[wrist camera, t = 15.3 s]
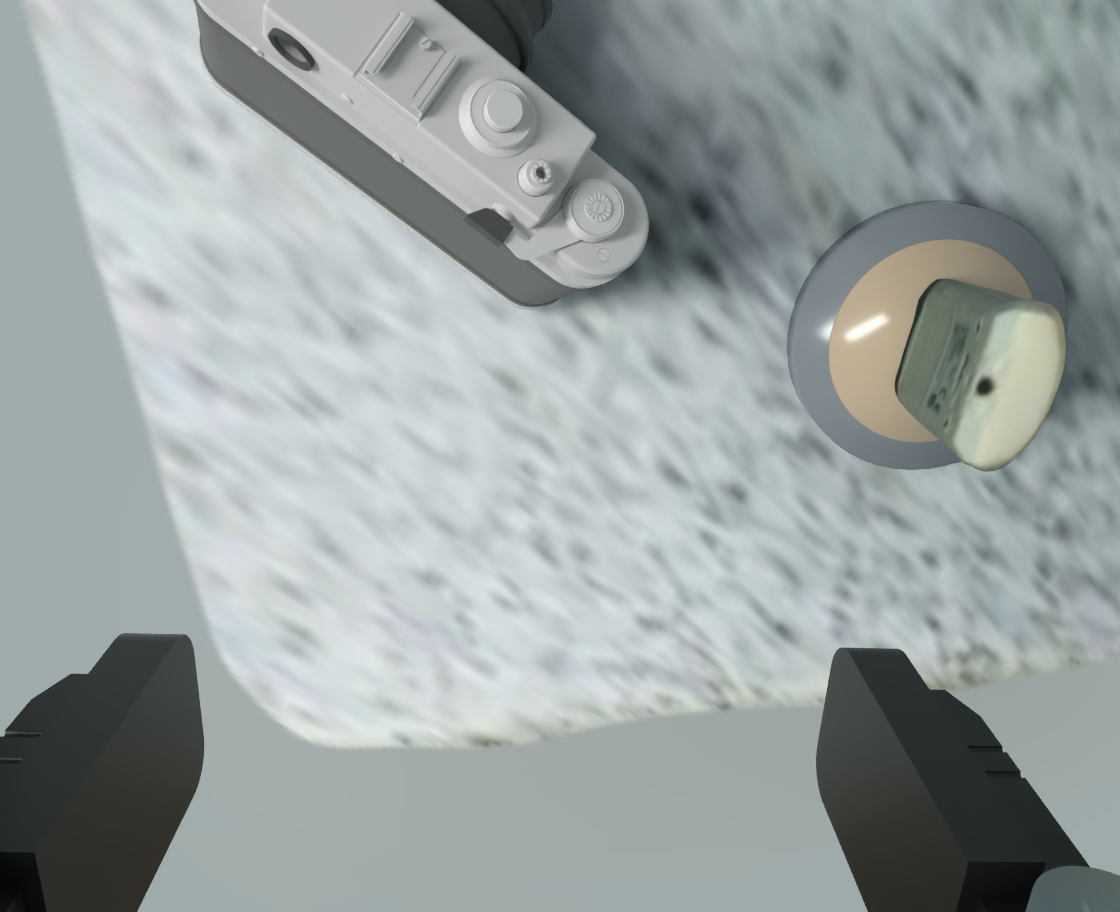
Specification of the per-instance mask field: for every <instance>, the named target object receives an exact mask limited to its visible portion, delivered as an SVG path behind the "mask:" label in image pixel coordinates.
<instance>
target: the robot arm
mask: <svg viewBox="0 0 1120 912" xmlns="http://www.w3.org/2000/svg"><path fill="white" fill-rule="evenodd" d="M203 757H204V735H203V726H202V717H201V709H200V700H199V691H198V683H197V673H196V665H195V656H194V649H193V645H192V642H191V640H190V638H189V637H188V636H187V635H181V634H135V633H132V634H131V633H124V634H121V635H119V636H118V637H117V638H116V639H115V640H114V641H113V643H112V644H111V645H110V647H109V648H108V649H107V650H106V652H105V653H104V654H103V656H102V657H101V658H100V659H99V661H98V662H97V663H96V665H95V666H94V667H93V668H92V670H91V671H90V672H89V674H70V675H68V676H67V677H65V678H64V679H62V680H61V681H59V682H58V683H56V684H55V685H53V686H52V687H50V688H48V689H47V690H45V691H44V692H42V693H41V694H39V695H38V696H36V697H34V698H33V699H31V701H30V702H29V703H28V704H27V705H26V707H25V708H24V709H23V710H22V711H21V712H20V714H19V715H18V716H17V717H16V718H15V719H14V721H13V722H12V723H11V724H10V725H9V727H8V728H7V729H6V730H5V736H4V737H0V912H137V911H138V909H139V907H140V905H141V903H142V901H143V898H144V896H145V894H146V892H147V890H148V888H149V886H150V884H151V882H152V880H153V878H154V876H155V874H156V872H157V870H158V868H159V866H160V864H161V862H162V860H163V858H164V856H165V854H166V852H167V849H168V847H169V845H170V843H171V841H172V839H173V837H174V835H175V833H176V831H177V829H178V827H179V825H180V823H181V821H182V819H183V817H184V815H185V813H186V811H187V809H188V807H189V804H190V802H191V800H192V798H193V796H194V794H195V792H196V789H197V786H198V784H199V780H200V776H201V771H202V765H203ZM816 768H817V780H818V786H819V791H820V795H821V798H822V801H823V803H824V806H825V809H826V811H827V814H828V816H829V818H830V821H831V823H832V826H833V828H834V830H835V833H836V835H837V838H838V840H839V843H840V845H841V847H842V850H843V852H844V855H845V857H846V860H847V862H848V864H849V867H850V869H851V872H852V874H853V877H854V879H855V881H856V884H857V886H858V889H859V891H860V893H861V896H862V898H863V901H864V903H865V906H866V907H867V910H868V912H1120V876H1119V875H1116V874H1113V873H1111V872H1107V871H1103V870H1100V869H1096V868H1090V866H1089V865H1088V864H1087V862H1086V861H1085V859H1084V858H1083V857H1082V855H1081V854H1080V853H1079V851H1078V850H1077V849H1076V847H1075V846H1074V844H1073V843H1072V842H1071V840H1070V839H1069V837H1068V836H1067V835H1066V833H1065V832H1064V831H1063V830H1062V828H1061V827H1060V825H1059V824H1058V822H1057V821H1056V820H1055V818H1054V817H1053V816H1052V814H1051V813H1050V811H1049V810H1048V809H1047V807H1046V806H1045V805H1044V803H1043V802H1042V800H1041V799H1040V798H1039V796H1038V795H1037V793H1036V792H1035V791H1034V789H1033V788H1032V787H1031V786H1030V784H1029V783H1028V781H1027V780H1026V779H1025V778H1021V775H1020V770H1019V769H1018V768H1017V766H1016V765H1015V763H1014V762H1013V761H1012V759H1011V758H1010V757H1009V755H1008V754H1007V753H1006V752H1004V753H1003V751H1002V746H1001V744H1000V743H999V741H998V740H997V739H996V737H995V736H994V734H993V733H992V732H991V730H990V729H989V728H988V726H987V725H986V723H985V722H984V721H983V719H982V718H981V717H980V716H979V715H978V714H977V713H975V712H974V711H973V710H971V709H970V708H969V707H967V706H966V705H964V704H963V703H962V702H960V701H959V700H958V699H956V698H955V697H954V696H952V695H951V694H950V693H948V692H947V691H946V690H929V688H928V687H927V685H926V684H925V682H924V681H923V679H922V678H921V676H920V675H919V673H918V672H917V670H916V669H915V668H914V666H913V665H912V663H911V662H910V660H909V659H908V657H907V656H906V654H905V653H904V652H903V651H902V650H900V649H879V648H839V649H838V650H837V651H836V653H835V655H834V657H833V660H832V665H831V670H830V676H829V681H828V687H827V693H826V699H825V705H824V710H823V717H822V722H821V728H820V734H819V740H818V745H817V755H816Z"/></svg>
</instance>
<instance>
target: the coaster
mask: <svg viewBox="0 0 1120 912" xmlns="http://www.w3.org/2000/svg"><path fill="white" fill-rule="evenodd" d="M937 279H953V280H957V281H960V282H964V283H969V284H973V285H977V286H981V287H985V288H990V289H995V290H998V291H1001V292H1005V293H1008V294H1011V295H1014V296H1016V297H1019V298H1021V299H1024V300H1034V301H1040V302H1044V303H1048V304H1050V305H1051V306H1053V307H1054V308H1055V309H1056V310H1057V311H1058V313H1059V314H1060V316H1061V319H1062V322H1063V325H1064V332H1065V338H1066V332H1067V304H1066V296H1065V291H1064V288H1063V284H1062V280H1061V277H1060V275H1059V272H1058V270H1057V268H1056V266H1055V263H1054V262H1053V260H1052V258H1051V257H1050V255H1049V254H1048V252H1047V251H1046V249H1045V248H1044V247H1043V245H1042V244H1041V243H1040V242H1039V241H1038V240H1037V239H1036V238H1035V237H1034V236H1033V235H1032V234H1031V233H1030V232H1029V231H1027V230H1026V229H1025V228H1024V227H1022V226H1021V225H1020V224H1018V223H1016V222H1015V221H1013V220H1011V219H1009V218H1008V217H1006V216H1003V215H1001V214H998V213H996V212H993V211H991V210H987V209H983V208H979V207H974V206H970V205H966V204H962V203H957V202H948V201H924V202H916V203H911V204H905V205H901V206H898V207H895V208H892V209H889V210H886V211H883V212H881V213H879V214H877V215H875V216H873V217H870V218H868V219H867V220H865V221H863V222H862V223H860V224H859V225H857V226H855V227H854V228H852V229H851V230H850V231H848V232H847V233H846V234H845V235H843V236H842V237H841V238H840V239H838V240H837V241H836V242H835V243H834V244H833V245H832V246H831V247H830V248H829V249H828V250H827V251H826V252H825V253H824V254H823V256H822V257H821V258H820V260H819V261H818V262H817V263H816V265H815V266H814V267H813V269H812V270H811V272H810V274H809V275H808V277H807V279H806V280H805V282H804V284H803V286H802V288H801V290H800V292H799V295H798V297H797V299H796V302H795V305H794V308H793V312H792V315H791V319H790V324H789V330H788V343H787V354H788V365H789V370H790V374H791V379H792V383H793V385H794V388H795V390H796V393H797V395H798V398H799V399H800V401H801V403H802V404H803V406H804V408H805V410H806V411H807V412H808V414H809V415H810V416H811V417H812V419H813V420H814V421H815V422H816V424H817V425H818V426H819V427H820V428H821V429H822V430H823V431H824V433H825V434H826V435H827V436H828V437H829V438H831V439H832V440H833V441H834V442H835V443H836V444H837V445H838V446H840V447H841V448H843V449H844V450H846V451H847V452H848V453H850V454H852V455H854V456H856V457H858V458H860V459H862V460H864V461H867V462H870V463H873V464H876V465H879V466H884V467H889V468H894V469H907V470H915V469H930V468H935V467H941V466H946V465H949V464H952V463H956V462H959V461H961V460H960V459H959V458H958V457H957V456H956V455H955V453H954V452H953V451H952V450H950V449H949V448H948V447H947V446H946V445H945V444H944V443H943V442H942V441H941V440H939V439H938V438H937V437H935V436H934V435H933V434H932V433H931V432H929V431H928V430H927V429H926V428H925V427H924V426H923V425H922V424H920V423H919V422H918V421H917V420H916V419H915V418H914V417H913V416H912V415H911V414H910V413H909V412H908V411H907V410H906V409H905V407H904V406H903V405H902V404H901V403H900V402H899V400H898V397H897V396H896V392H895V379H896V375H897V372H898V369H899V366H900V362H901V359H902V355H903V352H904V349H905V346H906V342H907V339H908V336H909V333H910V330H911V327H912V324H913V320H914V316H915V312H916V307H917V304H918V299H919V298H920V296H921V295H922V294H923V292H924V291H925V289H926V288H927V287H928V286H929V285H930V284H931V283H932V282H934V281H935V280H937Z"/></svg>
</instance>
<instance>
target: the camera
mask: <svg viewBox="0 0 1120 912" xmlns="http://www.w3.org/2000/svg"><path fill="white" fill-rule="evenodd" d="M194 2H195V5H196V10H197V16H198V23H199V29H200V54H201V59H202V63H203V66H204V69H205V71H206V73H207V75H208V77H209V78H210V80H211V81H212V83H213V84H214V85H215V86H216V87H217V88H218V89H219V90H220V91H221V92H222V93H224V94H225V95H226V96H228V97H229V98H230V99H232V100H233V101H234V102H236V103H237V104H238V105H240V106H241V107H242V108H244V109H245V110H247V111H248V112H249V113H251V114H252V115H253V116H255V117H256V118H257V119H259V120H260V121H261V122H263V123H264V124H265V125H267V126H268V127H270V128H271V129H272V130H274V131H275V132H276V133H278V134H279V135H280V136H282V137H283V138H284V139H286V140H287V141H288V142H290V143H291V144H292V145H294V146H295V147H297V148H298V149H299V150H301V151H302V152H303V153H305V154H306V155H307V156H309V157H310V158H311V159H313V160H314V161H315V162H317V163H318V164H319V165H321V166H322V167H324V168H325V169H326V170H328V171H329V172H330V173H332V174H333V175H334V176H336V177H337V178H338V179H340V180H341V181H342V182H344V183H345V184H347V185H348V186H349V187H351V188H352V189H353V190H355V191H356V192H357V193H359V194H360V195H361V196H363V197H364V198H365V199H367V200H368V201H369V202H371V203H372V204H374V205H375V206H376V207H378V208H379V209H380V210H382V211H383V212H384V213H386V214H387V215H388V216H390V217H391V218H392V219H394V220H395V221H396V222H398V223H399V224H401V225H402V226H403V227H405V228H406V229H407V230H409V231H410V232H411V233H413V234H414V235H415V236H417V237H418V238H419V239H421V240H422V241H423V242H425V243H426V244H428V245H429V246H430V247H432V248H433V249H434V250H436V251H437V252H438V253H440V254H441V255H442V256H444V257H445V258H446V259H448V260H449V261H451V262H452V263H453V264H455V265H456V266H457V267H459V268H460V269H461V270H463V271H464V272H465V273H467V274H468V275H469V276H471V277H472V278H473V279H475V280H476V281H478V282H479V283H480V284H482V285H483V286H484V287H486V288H487V289H488V290H490V291H491V292H492V293H494V294H495V295H496V296H498V297H499V298H500V299H502V300H503V301H505V302H506V303H508V304H509V305H512V306H514V307H517V308H521V309H537V308H541V307H544V306H547V305H549V304H551V303H553V302H555V301H556V300H558V299H559V298H560V297H563V296H565V295H568V294H570V293H573V292H575V291H580V290H585V289H588V288H592V287H595V286H599V285H601V284H604V283H606V282H608V281H610V280H612V279H614V278H616V277H617V276H618V275H619V274H621V273H622V272H623V271H624V270H625V269H627V268H628V267H629V266H631V265H632V264H633V263H634V262H635V261H636V260H637V259H638V257H639V256H640V254H641V253H642V251H643V249H644V247H645V244H646V241H647V237H648V231H649V219H648V213H647V208H646V205H645V202H644V200H643V198H642V196H641V194H640V193H639V191H638V190H637V188H636V187H635V186H634V185H633V184H632V183H631V182H630V181H629V180H628V179H627V178H625V177H624V176H623V175H622V174H620V173H619V172H618V171H617V170H615V169H614V168H613V167H612V166H610V165H609V164H608V163H607V162H605V161H604V160H603V159H602V158H600V157H599V156H598V155H597V154H595V153H594V152H593V151H592V150H590V148H591V146H592V145H593V143H594V142H595V140H596V134H595V133H594V132H593V131H592V130H591V129H589V128H588V127H587V126H586V125H585V124H583V123H582V121H581V120H580V119H578V118H577V117H575V116H574V115H573V114H571V113H570V112H569V111H568V110H567V109H565V108H564V107H563V106H562V105H561V104H559V103H558V102H557V101H556V100H555V99H553V98H552V97H551V96H550V95H549V94H547V93H546V92H545V91H544V90H543V89H541V88H540V87H539V86H538V85H537V84H535V83H534V82H533V81H532V80H531V79H529V78H528V77H527V76H526V75H524V73H525V71H526V70H527V68H528V67H529V65H530V63H531V61H532V38H533V37H534V36H535V34H536V33H537V32H538V31H540V30H541V29H542V28H543V27H544V25H545V24H546V22H547V21H548V20H549V18H550V16H551V13H552V6H553V3H552V0H194Z"/></svg>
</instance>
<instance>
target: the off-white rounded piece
mask: <svg viewBox="0 0 1120 912" xmlns="http://www.w3.org/2000/svg"><path fill="white" fill-rule="evenodd" d="M1065 358H1066V338H1065V332H1064V325H1063V322H1062V319H1061V316H1060V314H1059V313H1058V311H1057V310H1056V309H1055V308H1054V307H1053V306H1051V305H1050V304H1048V303H1044V302H1040V301H1034V300H1024V299H1021V298H1019V297H1016V296H1014V295H1011V294H1008V293H1005V292H1001V291H998V290H995V289H990V288H985V287H981V286H977V285H973V284H969V283H964V282H960V281H957V280H953V279H937V280H935V281H934V282H932V283H931V284H930V285H929V286H928V287H927V288H926V289H925V291H924V292H923V294H922V295H921V296H920V298H919V299H918V304H917V307H916V312H915V316H914V320H913V324H912V327H911V330H910V333H909V336H908V339H907V342H906V346H905V349H904V352H903V355H902V359H901V362H900V366H899V369H898V372H897V375H896V379H895V392H896V396H897V397H898V400H899V402H900V403H901V404H902V405H903V406H904V407H905V409H906V410H907V411H908V412H909V413H910V414H911V415H912V416H913V417H914V418H915V419H916V420H917V421H918V422H919V423H920V424H922V425H923V426H924V427H925V428H926V429H927V430H928V431H929V432H931V433H932V434H933V435H934V436H935V437H937V438H938V439H939V440H941V441H942V442H943V443H944V444H945V445H946V446H947V447H948V448H949V449H950V450H952V451H953V452H954V453H955V455H956V456H957V457H958V458H959V459H960V460H961V461H962V462H963V463H965V464H967V465H969V466H972V467H974V468H975V469H978V470H981V471H995V470H997V469H1000V468H1002V467H1004V466H1005V465H1007V464H1008V463H1010V462H1011V461H1012V460H1013V459H1014V458H1015V457H1016V456H1017V455H1019V454H1020V453H1021V452H1022V451H1023V450H1024V449H1025V448H1026V447H1027V446H1028V444H1029V443H1030V442H1031V441H1032V440H1033V438H1034V437H1035V435H1036V434H1037V432H1038V430H1039V429H1040V427H1041V425H1042V424H1043V422H1044V420H1045V418H1046V416H1047V414H1048V412H1049V410H1050V408H1051V405H1052V403H1053V400H1054V398H1055V395H1056V393H1057V390H1058V387H1059V384H1060V381H1061V378H1062V374H1063V370H1064V365H1065Z"/></svg>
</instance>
